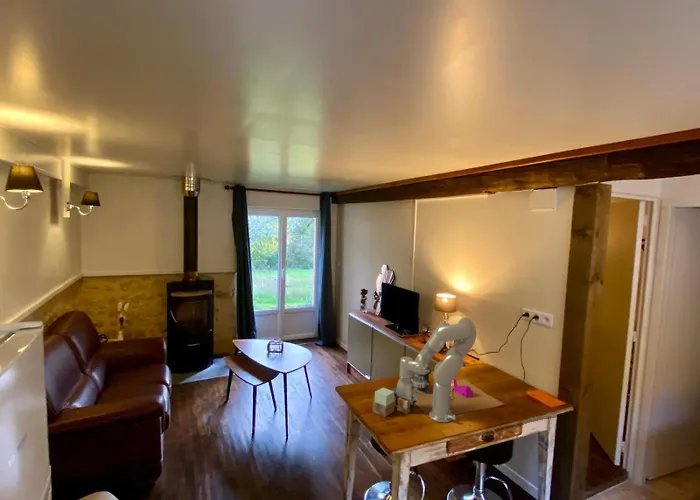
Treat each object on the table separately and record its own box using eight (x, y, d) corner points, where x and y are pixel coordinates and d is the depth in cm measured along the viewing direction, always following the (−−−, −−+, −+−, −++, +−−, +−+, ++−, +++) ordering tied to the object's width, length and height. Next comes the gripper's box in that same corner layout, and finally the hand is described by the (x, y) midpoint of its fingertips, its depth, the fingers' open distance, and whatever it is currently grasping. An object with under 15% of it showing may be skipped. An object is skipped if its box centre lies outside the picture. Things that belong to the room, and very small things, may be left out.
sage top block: (393, 401, 216) (394, 391, 215) (385, 406, 209) (386, 396, 209) (382, 397, 221) (383, 387, 220) (374, 401, 215) (375, 391, 214)
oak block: (411, 410, 218) (412, 398, 218) (406, 414, 214) (406, 402, 213) (402, 406, 222) (403, 395, 222) (397, 410, 218) (397, 398, 217)
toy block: (472, 397, 238) (473, 386, 238) (465, 399, 236) (466, 387, 235) (456, 388, 252) (456, 377, 251) (449, 389, 249) (449, 378, 248)
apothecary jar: (424, 386, 252) (425, 360, 251) (433, 394, 241) (435, 367, 240) (408, 388, 248) (409, 361, 247) (416, 396, 237) (418, 368, 236)
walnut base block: (394, 411, 216) (394, 401, 216) (385, 417, 209) (385, 407, 209) (381, 406, 222) (381, 396, 221) (372, 411, 215) (372, 401, 214)
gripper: (422, 381, 214) (420, 410, 215) (396, 372, 225) (395, 400, 226) (415, 385, 208) (414, 414, 209) (389, 376, 219) (388, 404, 220)
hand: (404, 407), depth 218 cm, fingers open, 9 cm apart
